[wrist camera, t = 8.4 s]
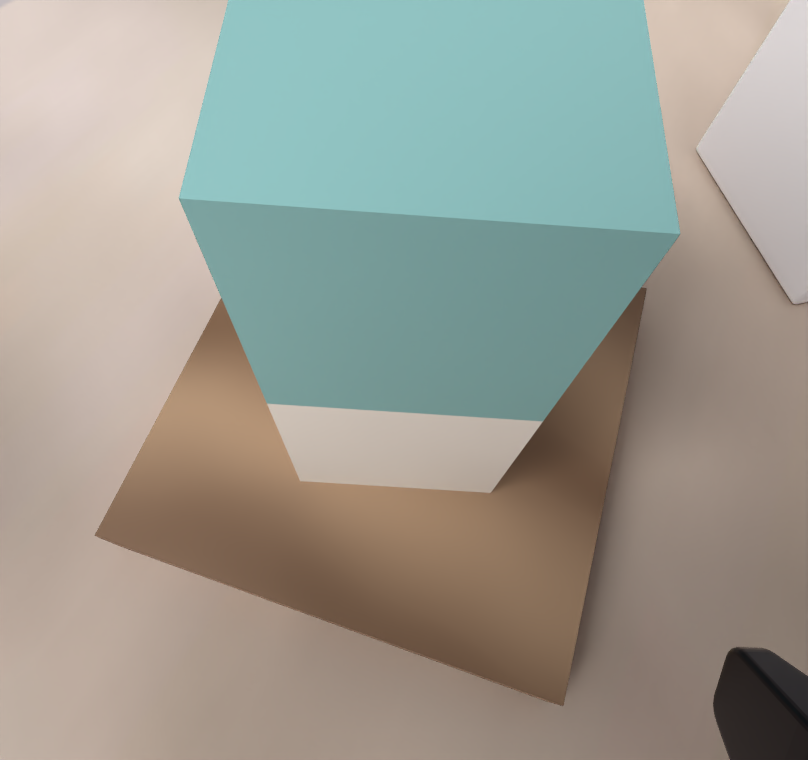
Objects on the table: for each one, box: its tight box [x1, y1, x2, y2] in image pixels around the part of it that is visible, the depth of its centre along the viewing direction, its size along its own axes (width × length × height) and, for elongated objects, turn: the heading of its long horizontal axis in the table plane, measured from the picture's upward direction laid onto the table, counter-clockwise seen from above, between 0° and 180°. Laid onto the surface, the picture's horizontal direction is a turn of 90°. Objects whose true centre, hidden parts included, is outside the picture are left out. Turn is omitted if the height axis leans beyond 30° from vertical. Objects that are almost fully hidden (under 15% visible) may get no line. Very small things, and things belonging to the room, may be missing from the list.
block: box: [179, 0, 680, 493], centre depth 12 cm, size 5×5×11 cm
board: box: [95, 287, 646, 706], centre depth 18 cm, size 12×12×2 cm
